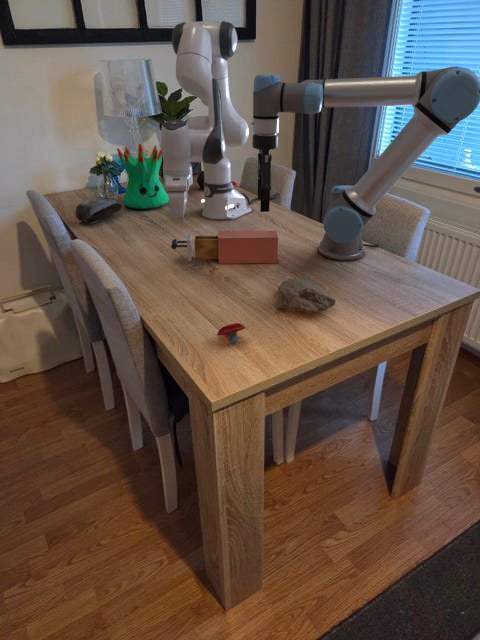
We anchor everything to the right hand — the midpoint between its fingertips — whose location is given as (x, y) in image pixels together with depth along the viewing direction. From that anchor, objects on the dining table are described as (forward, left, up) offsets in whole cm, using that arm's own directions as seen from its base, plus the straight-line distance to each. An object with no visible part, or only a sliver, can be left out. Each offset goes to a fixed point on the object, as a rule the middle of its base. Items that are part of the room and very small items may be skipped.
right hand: (263, 204), depth 142 cm
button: (+18, +47, -19) cm, 54 cm away
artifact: (-4, +32, -19) cm, 37 cm away
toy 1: (+38, -69, -19) cm, 81 cm away
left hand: (+26, -4, -5) cm, 27 cm away
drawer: (+18, -3, -18) cm, 26 cm away
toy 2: (+6, -89, -19) cm, 91 cm away
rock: (+57, -51, -19) cm, 79 cm away
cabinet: (+5, -1, -19) cm, 20 cm away
